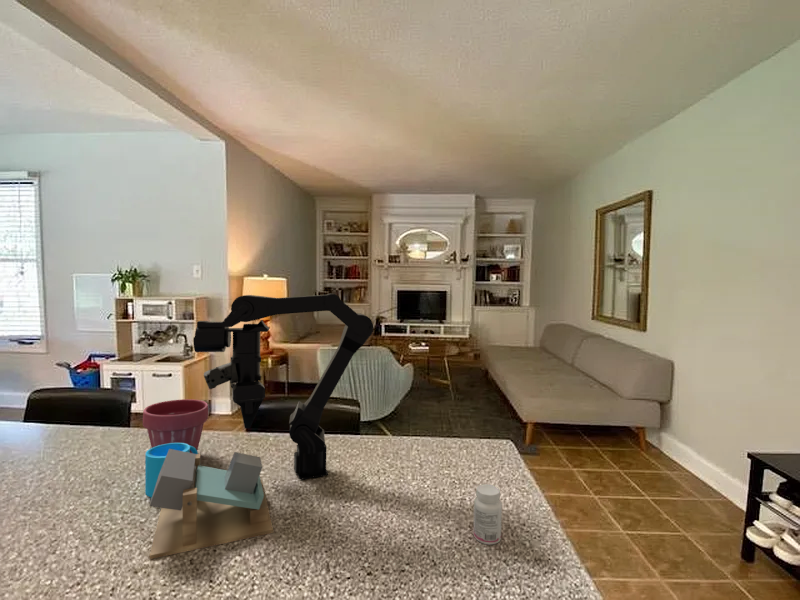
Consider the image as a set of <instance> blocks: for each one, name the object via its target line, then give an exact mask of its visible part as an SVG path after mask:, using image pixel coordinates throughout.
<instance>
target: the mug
mask: <svg viewBox="0 0 800 600" xmlns="http://www.w3.org/2000/svg"><path fill="white" fill-rule="evenodd" d="M169 449H173V450H178V451H183V452H188V453H190V450H191V451H192V453H194V454H199V452H198V451H199V450H196V448H195V447H193V446H189V445H188V444H185V443H168V444H163V445H158V446H156V447H153V448H151V447H150V448H149V449H147V451H145V458H144V459H145V460H144V461H145V462H144V463H145V469H144V473H145V476H144V478H145V481H144V482H145V483H144V485H145V488H144V489H145V490H144V492H145V493H144V494H145V495H146V496H147V497H149V498H150V499H152V496H153V492H154V489H155V486H156V482H157V479H158V476H159V473H160V471H161V468H162V465H163V463H164V460H165V458H166V455H167V453H168V450H169Z"/></svg>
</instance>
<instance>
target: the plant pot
mask: <svg viewBox="0 0 800 600" xmlns="http://www.w3.org/2000/svg"><path fill="white" fill-rule="evenodd" d="M142 411H143V413H142V426H143V428H144V429H146V430H147V435H148V439H149V442H150V443H149V444H150V449H151V448H153V447H156V446H158V445H163V444H168V443H185V444H188V445H189V446H193V447H195V448H196V450H197V451H199V450H198V449H199V445H200V441H201V437H202V434H203V428H204V424H205V423H206V422H207V421H208V419H209V405H208V403H207V402H206V401H204V400H201V399H192V398H191V399H190V398H189V399H186V398H185V399H174V400H166V401H165V400H164V401H160V402H157V403H153V404H150V405H147V406H146V407H144V409H143V410H142ZM190 453H192V451H191V450H190Z"/></svg>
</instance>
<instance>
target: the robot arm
mask: <svg viewBox="0 0 800 600" xmlns="http://www.w3.org/2000/svg"><path fill="white" fill-rule="evenodd" d="M328 311H329V312H330V313H331V314H332V315H334V316H335V318H337V319H338V320H340V321H341V322H342V323H343V324H344V327H343V330H342V333H341V336H340V340H339V344H338V346H337V348H336V350H335V352H334V353H333V355H332V357H331V358H330V361H329V362H328V364H327V366H326V367H325V370H324V372H323V373H322V375H321V377H319V378H320V379H319V380H318V382H317V384H316V385H315V388H314V389H313V392H312V393H311V394H310V396H309V398H308V399H307V400H306V401H305V402H304V403H303V402H302V401H300V400H298V402H297V404H296V407H295V409H294V411H293V412H292V413H291V414H290V416H289V422H288V425H289V430H288V431H289V438H290V439H291V441H292V442H294V444H296V451H294V453H293V455H294V456H293V470H294V473H295V474H296V476H297V477H298V479H299V480H307V479H314V478H320V477H325V476H328V475H329V471H328V470H327V444H326V439H325V429H323V428H322V427H321V426H320V423H321V420H322V415H323V412H324V410H325V409H324V408H325V407H326V405H327V404H328V401H329V399H330V398H331V396H332V394H333V392H334V390H335V389H336V387H337V385H338V383H339V381H340V380H341V379H342V376H343V374H344V372H345V370H346V369H347V367H348V365H349V363H350V362H351V360H352V358H353V356H354V355H355V354H356V353H357V352H358V351H359V349H361V348H362V347H363V345H364V344H365V343H366V342H367V341H368V339H369V338H370V337H371V336H372V334H373V331H374V324H373V321H372V319H371V318H370V317H368V316H367V315H365V314H363V313H360V312H359V313H358V312H356V311H355V310H353V308H351V307H350V306H349V305H347V304H346V303H345V302H344V301H343V300H342V299H341V297H340V296H338V295H337V294H335V293H327V294H320V295H304V296H303V295H302V296H301V295H300V296H288V297H287V296H286V297H273V296H264V295H254V294H253V295H252V294H246V295H239V296H238V297H236V298H235V299H234V300H233V301H232V304H231V307H230V312H229V313H228V315H227V316H226V317H225V318H224V320H223V321H208V320H199V321H196V329H195V331H194V336H193V341H192V342H193V344H192V345H193V350H194V352H195V353H224V352H225V351H226V349H227V348H230V347H231V345H232V355H231V357H230V362H228V363H225V364H222V365H218V366H216V367H213V368H210V369H209V370H206V371H204V373H203V378H204V380H205V383H206V385H207V387H208V389H209V390H212V389H215V388H217V387H218V386H220V385H223V384H225V383H227V382H229V383H230V388H231V389H232V391H231V393H232V394H231V395H232V396H231V397H232V401H233V403H234V404H236V405H238V407H240V412H241V416H242V420H243V426H244V429H251V427H252V424H253V423H254V420H255V418H256V416H257V413H258V412H259V409H260V407H261V405H262V403H263V401H265V398H266V388H265V385H264V384H263V383H262V382H261V381H262V375H261V363H262V357H261V333H265V332H268V331H270V327H269V325H267V324H266V323H265V322H264V321H263V319H265V318H269V317H273V316H276V315H286V314H287V315H288V314H299V313H300V314H303V313H314V312H315V313H316V312H328ZM260 319H261V320H260ZM256 320H257V321H258V320H260V321H259V322H258V323H249V322H253V321H256ZM239 323H244V324H243V326H242V327H234V326H237V325H238V324H239Z"/></svg>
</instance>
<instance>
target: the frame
mask: <svg viewBox="0 0 800 600" xmlns="http://www.w3.org/2000/svg"><path fill="white" fill-rule="evenodd" d="M198 465H200V466H201V453H198V454H196V456H195V464H194V472H193V480H192V483H191V486H190V488H189V489H185V490H183V506H182V509H181V510H174V509H166V508H160V513H159V515H158V519H157V524H156V528H155V533H154V537H153V540H152V544H151V547H150V553H149V560H152V559H157V558H162V557H168V556H171V555H176V554H181V553H185V552H189V551H195V550H199V549H204V548H209V547H213V546H219V545H224V544H228V543H233V542H236V541H241V540H246V539H250V538H256V537H259V536H266V535H269V534H273V533H274V528H273V523H272V519H271V515H270V509H269V504H268V501H267V498H266V497H267V496H266V493H265V492H266V491H265V489H264V483H263V480H262V478H260V479H261V484H262V488H263V493H264V498H263V500H262V503H261V506H260V508H259V510H258V509H251V508H245V507H238V506H231V505H225V504H218V503H212V502H205V501H198V500H197V488H194V487H195V477H196V470H197V467H198Z"/></svg>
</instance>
